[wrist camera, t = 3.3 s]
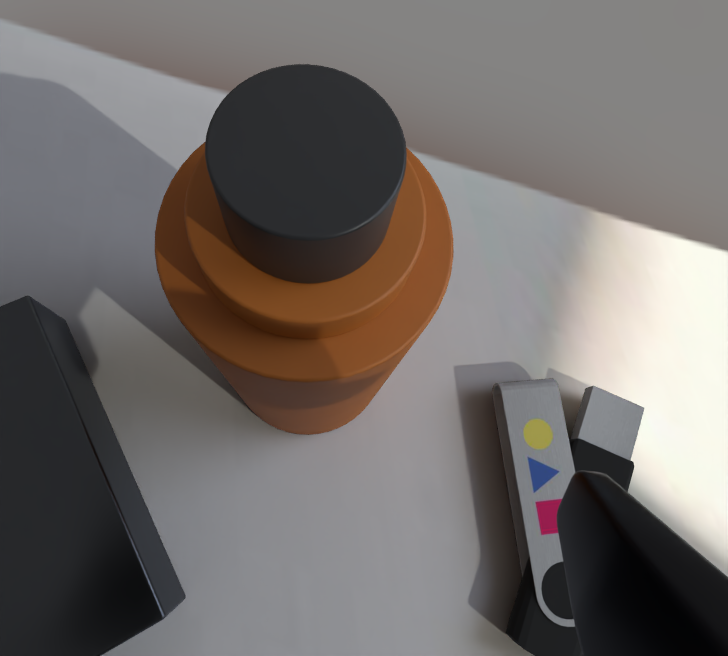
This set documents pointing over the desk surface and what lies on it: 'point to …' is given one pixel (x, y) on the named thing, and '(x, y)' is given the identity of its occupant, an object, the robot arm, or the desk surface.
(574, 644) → the usb flash drive
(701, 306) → the desk surface
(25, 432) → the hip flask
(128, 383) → the desk surface
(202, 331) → the amber bottle
